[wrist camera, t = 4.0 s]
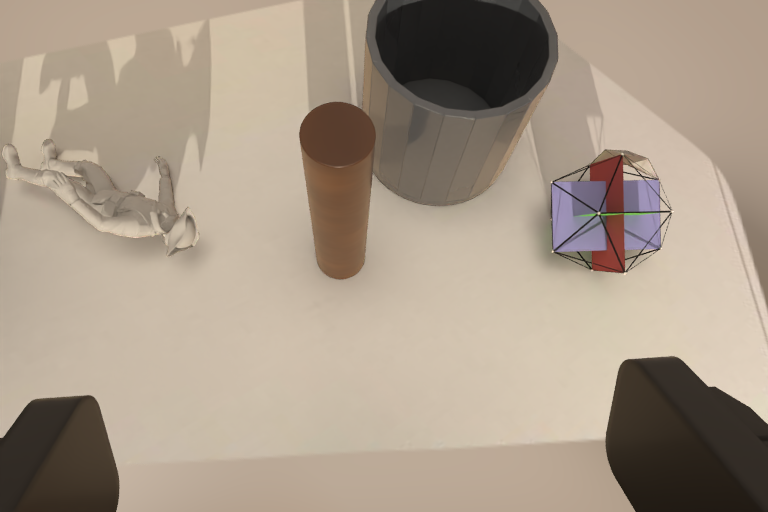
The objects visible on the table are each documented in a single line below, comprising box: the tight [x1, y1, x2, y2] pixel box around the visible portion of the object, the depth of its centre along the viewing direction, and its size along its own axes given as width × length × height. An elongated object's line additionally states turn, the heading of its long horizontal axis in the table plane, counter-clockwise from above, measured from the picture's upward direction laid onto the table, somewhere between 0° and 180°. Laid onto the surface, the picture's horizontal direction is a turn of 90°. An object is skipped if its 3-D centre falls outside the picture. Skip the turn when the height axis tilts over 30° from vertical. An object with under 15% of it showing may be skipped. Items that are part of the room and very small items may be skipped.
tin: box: [362, 0, 558, 206], centre depth 34 cm, size 10×10×10 cm
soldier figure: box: [2, 139, 199, 257], centre depth 34 cm, size 8×5×12 cm
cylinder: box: [299, 102, 376, 279], centre depth 29 cm, size 3×3×14 cm
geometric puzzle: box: [550, 150, 674, 275], centre depth 34 cm, size 7×7×8 cm
